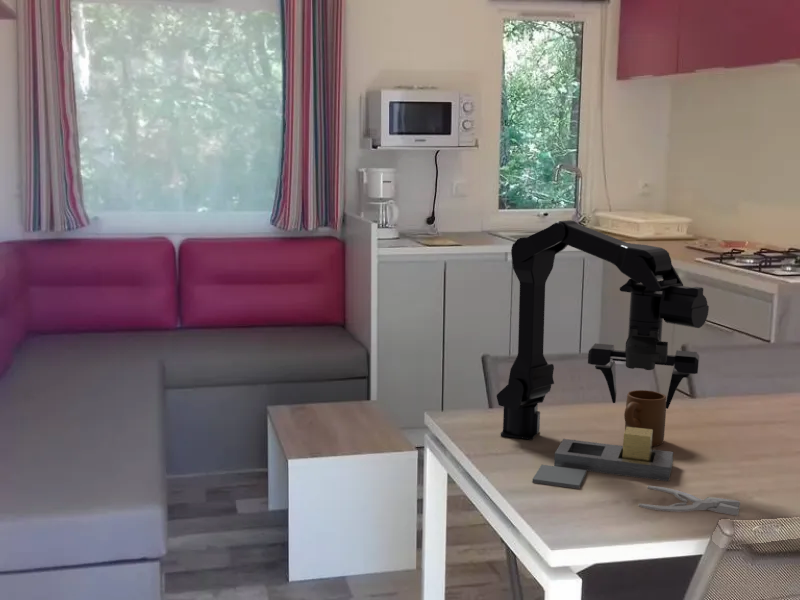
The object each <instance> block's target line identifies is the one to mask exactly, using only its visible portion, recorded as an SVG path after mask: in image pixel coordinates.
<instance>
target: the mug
mask: <svg viewBox="0 0 800 600" xmlns="http://www.w3.org/2000/svg"><path fill="white" fill-rule="evenodd" d="M666 400H667V395H665V394H664V393H661V392H658V391H654V390H646V389H645V390H643V389H640V390H631V391H628V393H627V395H626V401H625V402H626V403H625V409H624V414H623V415H624V431H625V430H626V427H635V428H644V429H653V434H652V447H656V446H657V447H658V446H661V444H663V442H664V440H665V430H666V429H665V428H666V417H667V416H666V415H667V409H666Z"/></svg>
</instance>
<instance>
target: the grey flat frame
mask: <svg viewBox="0 0 800 600" xmlns="http://www.w3.org/2000/svg"><path fill="white" fill-rule="evenodd" d="M622 456H623V445H617V444H609V443H602V442H593V441H592V442H591V441H586V440H585V441H584V440H576V439H567V438H563V439H562V441H561V442H560V444H559V446H558V447H557V449H556V450H555V451H554V461H553V463H554V464H553V466H557V467H565V468H573V469H580V470H586V472H595V473H602V474H610V475H617V476H624V477H632V478H633V477H634V478H640V479H641V478H642V479H647V480H654V481H656V480H657V481H665V482H669V481H670V477H671V472H672V468H673V461H674V452H673V451H669V450H660V449H651V462H643V461H635V460H627V459H622Z"/></svg>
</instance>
